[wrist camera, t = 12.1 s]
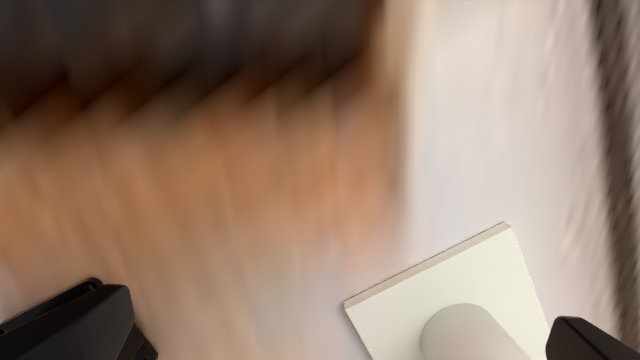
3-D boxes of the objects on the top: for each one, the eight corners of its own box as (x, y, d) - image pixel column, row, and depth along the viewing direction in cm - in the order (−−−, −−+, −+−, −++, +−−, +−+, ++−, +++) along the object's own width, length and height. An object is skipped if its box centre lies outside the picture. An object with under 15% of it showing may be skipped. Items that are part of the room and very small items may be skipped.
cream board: (409, 420, 24) (413, 431, 23) (342, 301, 21) (345, 309, 21) (552, 352, 24) (560, 360, 23) (503, 221, 21) (512, 226, 20)
